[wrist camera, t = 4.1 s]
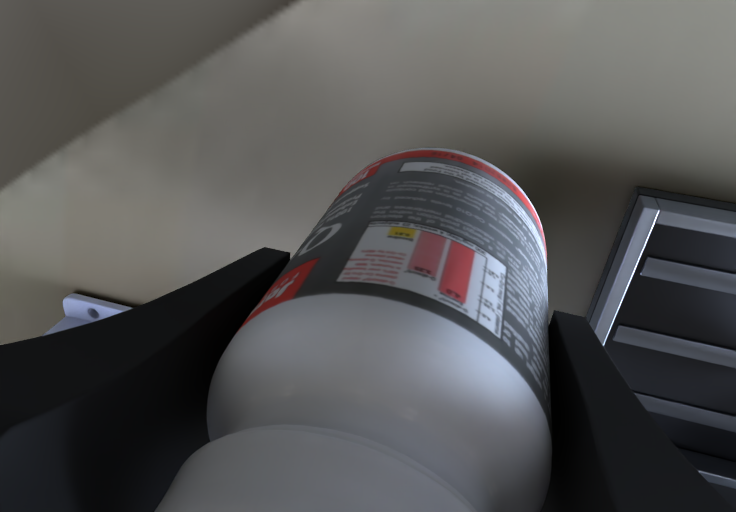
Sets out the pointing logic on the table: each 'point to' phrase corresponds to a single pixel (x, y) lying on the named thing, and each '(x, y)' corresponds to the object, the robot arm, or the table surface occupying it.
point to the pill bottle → (391, 357)
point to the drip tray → (676, 321)
